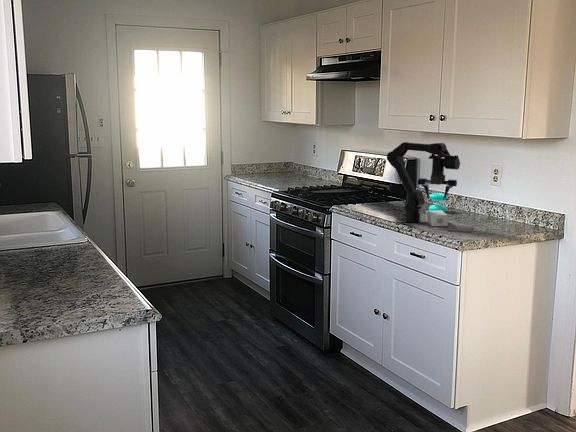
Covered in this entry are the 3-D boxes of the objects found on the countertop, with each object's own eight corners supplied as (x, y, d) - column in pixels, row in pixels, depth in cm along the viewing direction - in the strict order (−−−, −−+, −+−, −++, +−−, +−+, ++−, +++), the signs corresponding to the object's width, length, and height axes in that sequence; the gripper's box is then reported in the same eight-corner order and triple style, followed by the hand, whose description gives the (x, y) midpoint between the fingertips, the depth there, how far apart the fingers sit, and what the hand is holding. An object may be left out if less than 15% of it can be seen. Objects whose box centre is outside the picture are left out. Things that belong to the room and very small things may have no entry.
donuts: (427, 192, 347) (445, 192, 347) (426, 209, 349) (444, 210, 349) (432, 195, 337) (449, 195, 337) (431, 212, 339) (448, 212, 339)
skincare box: (432, 215, 298) (425, 209, 312) (431, 227, 299) (425, 221, 313) (449, 214, 297) (441, 209, 312) (448, 226, 299) (441, 220, 313)
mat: (447, 230, 288) (447, 229, 288) (450, 225, 301) (450, 224, 301) (470, 232, 284) (470, 231, 284) (473, 227, 297) (473, 226, 297)
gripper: (416, 168, 294) (415, 200, 297) (455, 170, 288) (453, 202, 291) (419, 166, 305) (418, 197, 307) (457, 168, 298) (456, 199, 301)
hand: (436, 199), depth 301 cm, fingers open, 8 cm apart
